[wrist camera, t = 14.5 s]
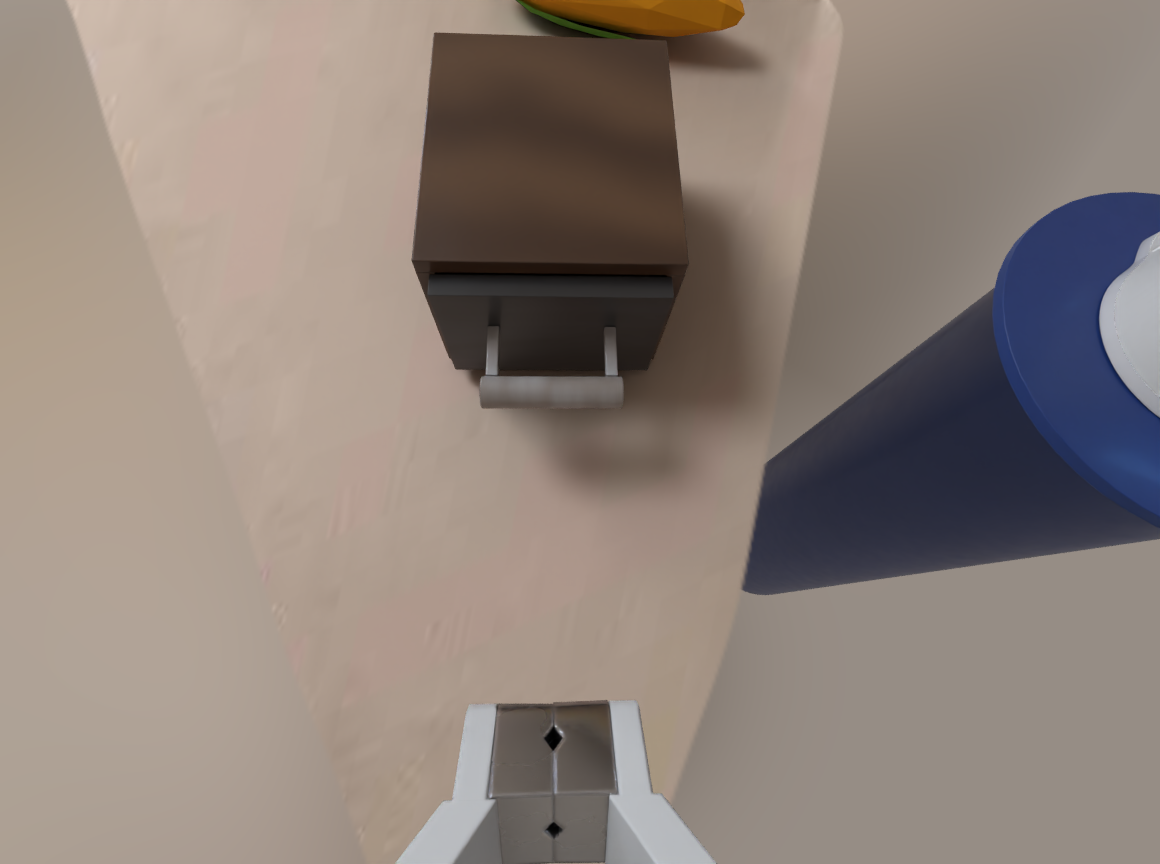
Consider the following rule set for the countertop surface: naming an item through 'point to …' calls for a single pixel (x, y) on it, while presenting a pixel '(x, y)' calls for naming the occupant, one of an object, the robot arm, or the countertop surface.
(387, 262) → the countertop surface
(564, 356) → the drawer
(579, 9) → the corn
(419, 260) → the cabinet
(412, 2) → the countertop surface
